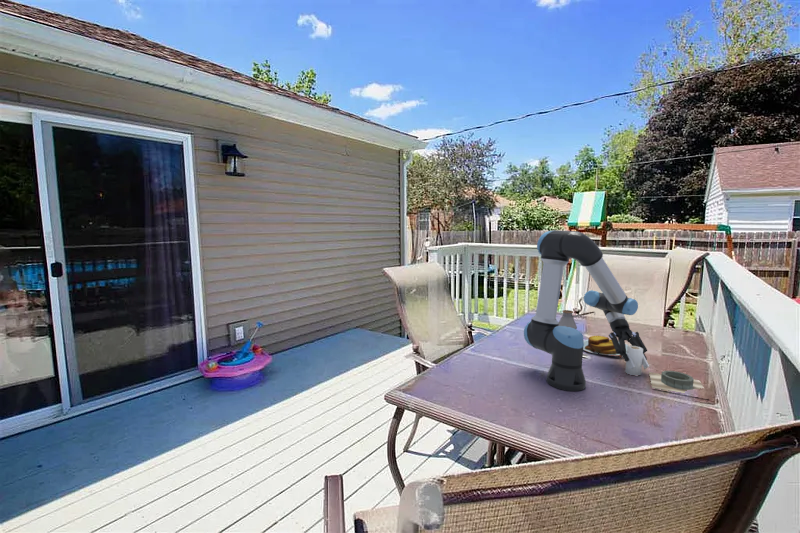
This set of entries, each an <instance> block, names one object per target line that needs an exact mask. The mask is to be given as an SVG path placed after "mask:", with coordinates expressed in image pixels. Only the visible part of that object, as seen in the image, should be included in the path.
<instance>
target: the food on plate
mask: <svg viewBox="0 0 800 533" xmlns="http://www.w3.org/2000/svg"><path fill="white" fill-rule="evenodd" d="M583 342H584V346H583V351H585V352H588V353H592V354H596V355H603V356H611V357H612V356H615V357H618V356H619V358H620V359H622V356H621V355H620V354H617V353H616V350H615V348H614V345H613V342H612V340H611V339H610V337H609V336H608V337H607V336H603V335H591V336H589V337H588V338H587V339H583ZM619 345H620V344H619ZM625 346H626V353H627V346H629V344H627V343H625ZM598 353H599V354H598Z"/></svg>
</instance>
